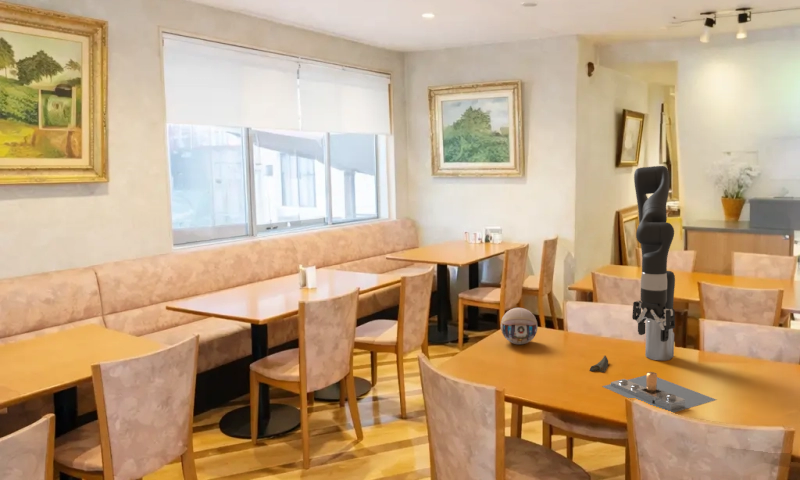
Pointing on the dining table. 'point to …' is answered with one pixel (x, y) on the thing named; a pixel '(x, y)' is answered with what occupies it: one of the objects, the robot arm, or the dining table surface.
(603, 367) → the dark grey rock
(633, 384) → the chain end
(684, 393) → the grey flat rectangular plate
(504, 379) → the dining table surface
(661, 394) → the chain end
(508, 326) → the ornament
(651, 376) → the pin
